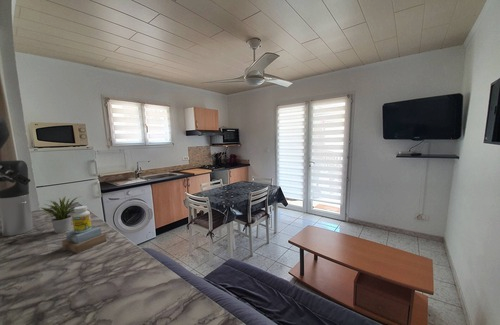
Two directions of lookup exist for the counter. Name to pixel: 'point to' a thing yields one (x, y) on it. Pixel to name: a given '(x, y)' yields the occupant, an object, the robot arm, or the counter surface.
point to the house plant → (60, 215)
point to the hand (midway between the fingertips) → (21, 181)
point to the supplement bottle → (81, 219)
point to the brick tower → (83, 239)
